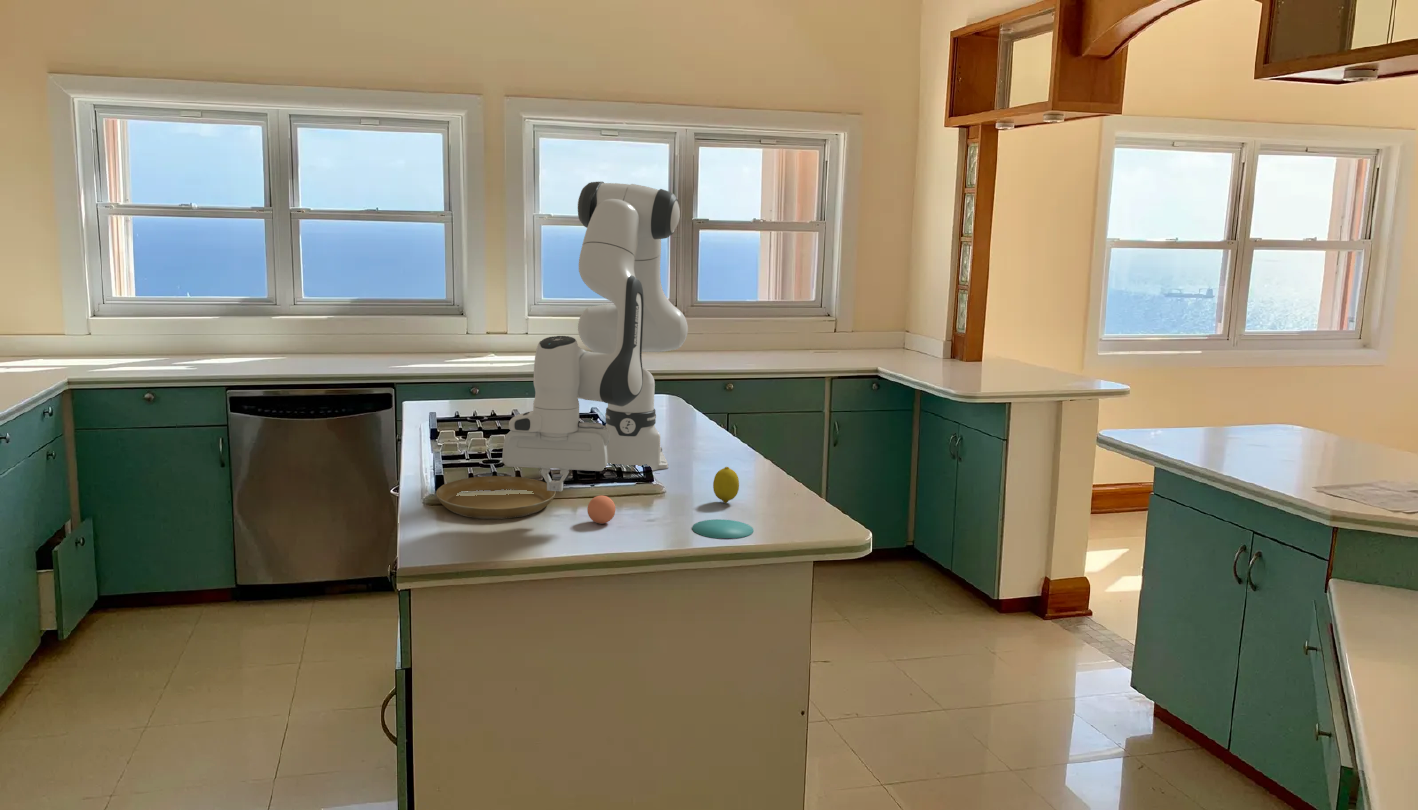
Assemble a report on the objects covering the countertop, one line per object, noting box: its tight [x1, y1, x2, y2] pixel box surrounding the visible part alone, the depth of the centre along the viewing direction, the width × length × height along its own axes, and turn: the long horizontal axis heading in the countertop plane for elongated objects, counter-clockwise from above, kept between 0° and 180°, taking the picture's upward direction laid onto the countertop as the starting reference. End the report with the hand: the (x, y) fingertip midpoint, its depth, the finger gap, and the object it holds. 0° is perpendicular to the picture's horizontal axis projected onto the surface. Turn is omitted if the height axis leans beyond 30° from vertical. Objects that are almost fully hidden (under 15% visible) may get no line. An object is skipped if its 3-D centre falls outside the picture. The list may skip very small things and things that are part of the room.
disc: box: [692, 519, 754, 539], centre depth 201 cm, size 12×12×1 cm
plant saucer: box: [435, 475, 557, 520], centre depth 211 cm, size 24×24×3 cm
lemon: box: [712, 466, 740, 504], centre depth 219 cm, size 6×6×8 cm
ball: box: [587, 494, 617, 524], centre depth 201 cm, size 6×6×6 cm
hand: (554, 490), depth 200 cm, fingers closed
